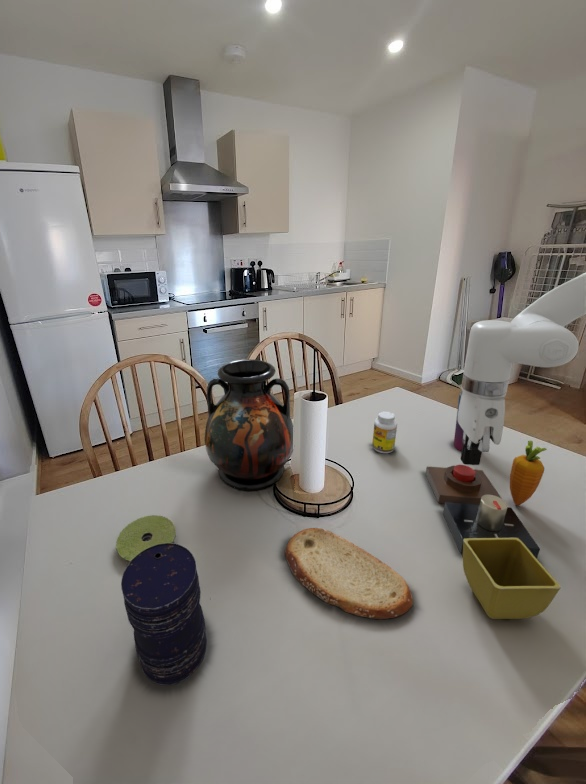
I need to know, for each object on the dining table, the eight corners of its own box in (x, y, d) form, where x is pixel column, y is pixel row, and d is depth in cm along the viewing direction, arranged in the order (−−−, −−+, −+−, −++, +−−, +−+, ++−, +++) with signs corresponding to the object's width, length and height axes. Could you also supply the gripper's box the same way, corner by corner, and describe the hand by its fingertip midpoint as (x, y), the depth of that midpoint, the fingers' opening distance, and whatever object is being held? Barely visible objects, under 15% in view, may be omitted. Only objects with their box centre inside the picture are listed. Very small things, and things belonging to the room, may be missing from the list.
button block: (480, 477, 83) (484, 463, 81) (500, 508, 74) (505, 493, 72) (425, 473, 85) (427, 459, 84) (438, 503, 76) (441, 488, 74)
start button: (469, 471, 80) (471, 465, 79) (476, 483, 76) (478, 476, 75) (450, 470, 80) (451, 464, 80) (456, 481, 77) (457, 475, 76)
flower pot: (452, 577, 60) (462, 537, 57) (506, 577, 59) (518, 536, 56) (483, 632, 52) (496, 588, 48) (545, 632, 51) (563, 588, 48)
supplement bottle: (368, 444, 98) (371, 411, 94) (386, 441, 99) (390, 408, 95) (378, 455, 93) (382, 421, 89) (398, 452, 94) (402, 418, 90)
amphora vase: (199, 500, 80) (185, 387, 70) (217, 447, 100) (208, 352, 90) (295, 504, 78) (296, 387, 67) (294, 449, 97) (294, 352, 87)
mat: (138, 580, 62) (136, 572, 62) (107, 546, 70) (105, 539, 69) (188, 540, 70) (187, 533, 69) (155, 514, 77) (154, 507, 76)
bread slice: (422, 612, 55) (425, 595, 53) (310, 636, 52) (311, 619, 51) (366, 525, 71) (368, 510, 70) (279, 540, 69) (279, 525, 67)
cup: (485, 454, 91) (497, 401, 86) (458, 454, 91) (469, 402, 86) (470, 439, 97) (480, 389, 92) (444, 440, 98) (454, 390, 92)
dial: (472, 514, 69) (477, 492, 67) (495, 516, 68) (501, 494, 66) (481, 530, 65) (487, 507, 63) (505, 532, 64) (512, 509, 62)
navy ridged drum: (213, 671, 49) (203, 595, 43) (139, 698, 46) (118, 621, 41) (200, 604, 58) (191, 534, 52) (138, 624, 55) (121, 553, 50)
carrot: (505, 493, 78) (521, 434, 72) (533, 504, 74) (553, 442, 69) (499, 505, 75) (516, 444, 69) (528, 517, 71) (549, 454, 66)
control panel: (507, 519, 71) (511, 506, 70) (535, 561, 62) (540, 548, 61) (442, 513, 73) (445, 501, 72) (460, 553, 64) (463, 540, 63)
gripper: (526, 401, 62) (506, 486, 69) (488, 370, 76) (474, 444, 83) (478, 400, 64) (463, 484, 70) (450, 370, 77) (439, 443, 84)
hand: (469, 462), depth 76 cm, fingers closed
